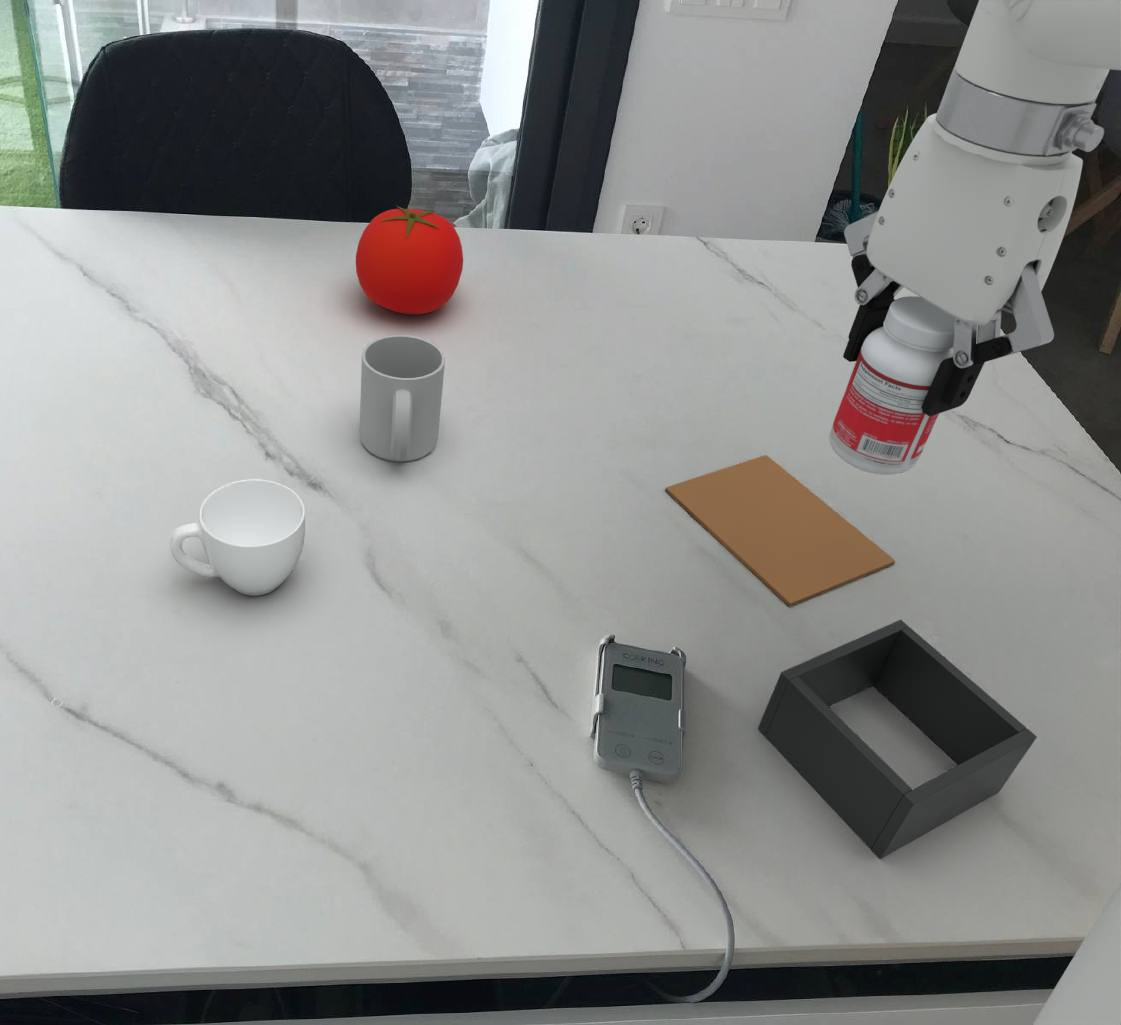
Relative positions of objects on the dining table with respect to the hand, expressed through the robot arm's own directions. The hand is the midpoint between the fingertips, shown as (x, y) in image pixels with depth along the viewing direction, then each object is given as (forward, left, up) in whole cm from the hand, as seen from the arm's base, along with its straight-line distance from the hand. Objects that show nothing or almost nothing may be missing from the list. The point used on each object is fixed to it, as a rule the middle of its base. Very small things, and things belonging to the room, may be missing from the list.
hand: (900, 380), depth 72 cm
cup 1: (+22, +39, -22) cm, 50 cm away
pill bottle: (0, 0, -6) cm, 6 cm away
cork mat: (+9, -5, -22) cm, 24 cm away
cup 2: (+32, +20, -22) cm, 43 cm away
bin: (-13, +6, -22) cm, 26 cm away
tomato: (+55, +7, -22) cm, 59 cm away
